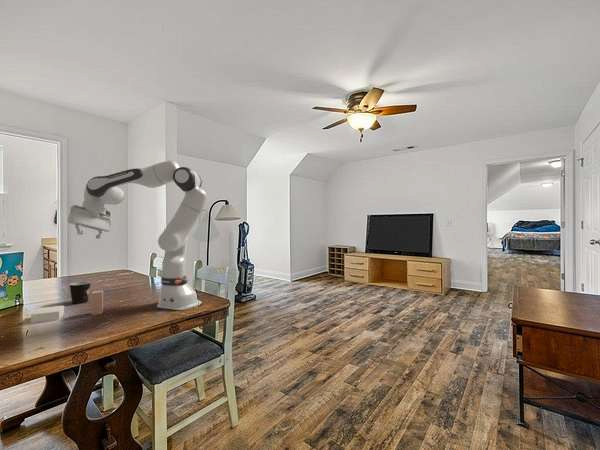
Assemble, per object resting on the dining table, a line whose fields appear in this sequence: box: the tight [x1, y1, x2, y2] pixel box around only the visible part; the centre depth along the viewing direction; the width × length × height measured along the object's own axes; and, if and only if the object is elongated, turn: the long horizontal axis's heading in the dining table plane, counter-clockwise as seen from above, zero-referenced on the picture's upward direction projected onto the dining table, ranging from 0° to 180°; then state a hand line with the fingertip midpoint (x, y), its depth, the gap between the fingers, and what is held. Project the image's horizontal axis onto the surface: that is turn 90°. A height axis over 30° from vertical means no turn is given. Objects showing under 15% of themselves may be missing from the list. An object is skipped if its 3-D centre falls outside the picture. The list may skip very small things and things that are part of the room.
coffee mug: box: [69, 280, 91, 305], centre depth 146 cm, size 12×9×10 cm
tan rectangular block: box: [91, 290, 104, 316], centre depth 130 cm, size 4×4×10 cm
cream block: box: [30, 305, 65, 324], centre depth 122 cm, size 9×9×4 cm
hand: (89, 236), depth 138 cm, fingers open, 8 cm apart
